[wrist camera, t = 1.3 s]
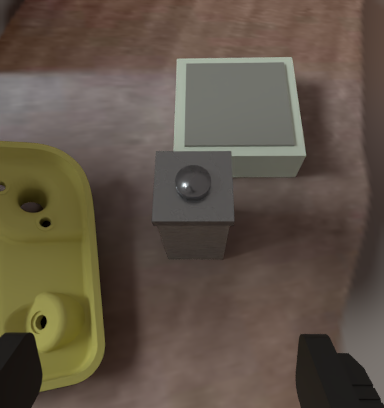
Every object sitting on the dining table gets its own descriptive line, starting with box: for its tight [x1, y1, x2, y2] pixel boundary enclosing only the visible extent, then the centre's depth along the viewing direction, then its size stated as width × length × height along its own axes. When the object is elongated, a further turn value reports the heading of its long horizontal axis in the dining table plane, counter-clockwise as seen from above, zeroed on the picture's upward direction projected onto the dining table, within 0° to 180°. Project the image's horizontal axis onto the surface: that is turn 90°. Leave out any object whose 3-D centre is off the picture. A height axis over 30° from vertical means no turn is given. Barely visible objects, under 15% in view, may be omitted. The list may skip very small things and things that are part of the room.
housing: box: [152, 151, 234, 259], centre depth 28 cm, size 5×5×11 cm
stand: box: [174, 57, 306, 177], centre depth 36 cm, size 12×12×4 cm
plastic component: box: [0, 141, 105, 392], centre depth 30 cm, size 20×7×10 cm
